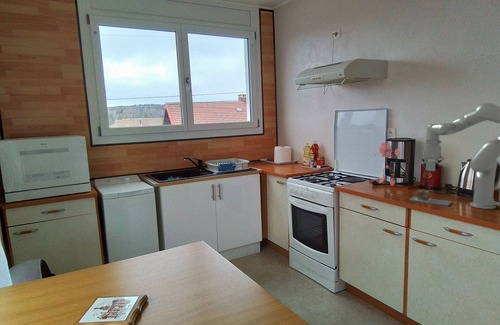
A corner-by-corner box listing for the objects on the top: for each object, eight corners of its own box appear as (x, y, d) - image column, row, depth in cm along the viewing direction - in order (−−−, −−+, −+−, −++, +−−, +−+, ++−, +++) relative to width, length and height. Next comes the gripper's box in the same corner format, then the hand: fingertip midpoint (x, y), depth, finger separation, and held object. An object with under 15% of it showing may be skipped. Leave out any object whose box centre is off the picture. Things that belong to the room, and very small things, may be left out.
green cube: (436, 169, 215) (437, 161, 214) (434, 171, 211) (435, 162, 210) (427, 169, 219) (428, 161, 218) (425, 170, 215) (425, 162, 214)
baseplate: (451, 202, 202) (451, 201, 202) (447, 206, 194) (447, 204, 194) (413, 197, 216) (413, 196, 216) (409, 201, 209) (409, 199, 209)
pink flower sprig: (379, 181, 271) (379, 140, 265) (404, 187, 247) (405, 142, 242) (365, 183, 265) (365, 141, 260) (389, 190, 241) (390, 144, 236)
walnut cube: (428, 199, 208) (429, 190, 207) (426, 201, 204) (427, 192, 203) (419, 197, 212) (419, 189, 211) (417, 199, 208) (417, 191, 207)
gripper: (448, 142, 209) (447, 169, 212) (419, 141, 221) (418, 167, 223) (445, 143, 204) (444, 171, 206) (416, 142, 215) (415, 168, 218)
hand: (431, 168), depth 215 cm, fingers closed on green cube, 5 cm apart
